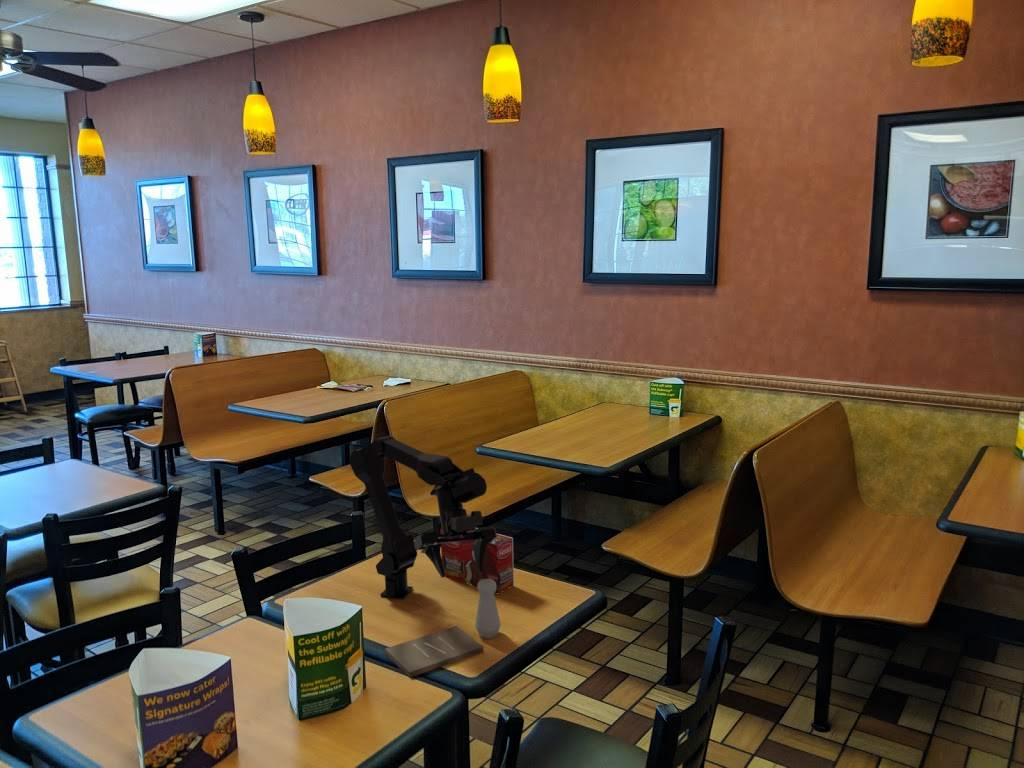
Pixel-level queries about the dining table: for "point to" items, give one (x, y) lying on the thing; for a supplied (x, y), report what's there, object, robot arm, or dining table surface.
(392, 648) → the marked board
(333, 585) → the dining table surface
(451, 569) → the ice cream box
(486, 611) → the salt shaker
